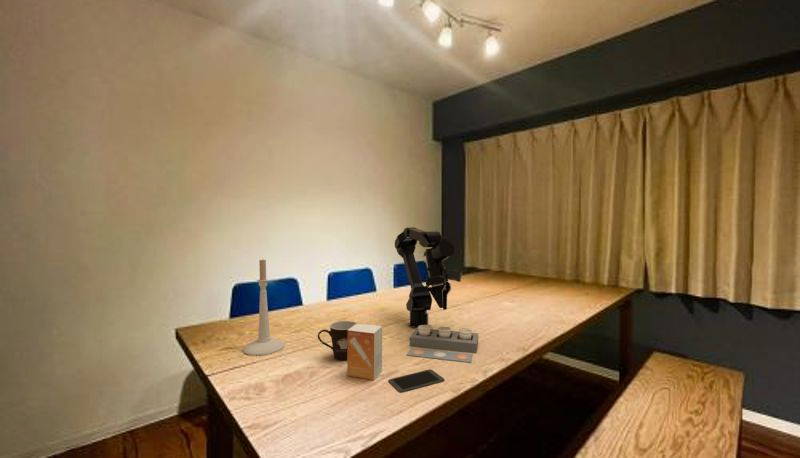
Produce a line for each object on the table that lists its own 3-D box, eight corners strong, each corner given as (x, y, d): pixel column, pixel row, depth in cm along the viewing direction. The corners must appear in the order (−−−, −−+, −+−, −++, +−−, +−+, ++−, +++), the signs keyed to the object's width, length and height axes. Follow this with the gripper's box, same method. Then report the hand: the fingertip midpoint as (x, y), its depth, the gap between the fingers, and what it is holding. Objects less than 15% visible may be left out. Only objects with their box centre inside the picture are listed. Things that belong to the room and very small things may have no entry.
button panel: (409, 345, 118) (409, 337, 118) (416, 335, 128) (416, 327, 127) (476, 353, 112) (476, 343, 112) (478, 341, 121) (478, 333, 121)
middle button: (437, 339, 118) (437, 330, 118) (439, 335, 122) (439, 326, 122) (450, 341, 117) (450, 331, 117) (451, 336, 121) (451, 327, 121)
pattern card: (406, 355, 110) (406, 354, 110) (411, 348, 116) (411, 347, 116) (471, 362, 104) (471, 361, 104) (472, 355, 110) (472, 353, 110)
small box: (347, 376, 96) (346, 329, 95) (356, 366, 102) (356, 322, 101) (374, 380, 93) (374, 332, 93) (382, 370, 100) (382, 325, 99)
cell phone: (445, 382, 93) (445, 379, 93) (399, 394, 87) (399, 392, 87) (431, 371, 100) (431, 368, 100) (387, 382, 93) (387, 379, 93)
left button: (416, 337, 120) (416, 328, 120) (419, 333, 124) (419, 324, 124) (429, 339, 119) (429, 329, 119) (431, 334, 123) (431, 325, 123)
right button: (457, 341, 116) (457, 332, 116) (459, 337, 120) (459, 327, 120) (471, 343, 115) (471, 333, 115) (472, 338, 119) (472, 329, 119)
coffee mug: (362, 353, 112) (362, 322, 111) (350, 364, 104) (350, 331, 103) (330, 348, 116) (330, 318, 115) (316, 359, 107) (315, 326, 107)
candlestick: (236, 348, 116) (234, 258, 114) (273, 338, 125) (271, 255, 124) (253, 359, 107) (251, 262, 106) (291, 347, 116) (290, 258, 115)
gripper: (454, 254, 115) (464, 302, 110) (460, 265, 132) (468, 306, 127) (421, 261, 117) (429, 308, 112) (431, 270, 134) (438, 311, 129)
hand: (443, 308), depth 120 cm, fingers open, 9 cm apart
